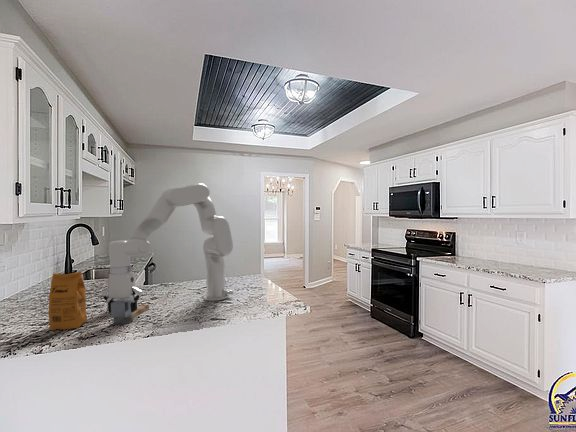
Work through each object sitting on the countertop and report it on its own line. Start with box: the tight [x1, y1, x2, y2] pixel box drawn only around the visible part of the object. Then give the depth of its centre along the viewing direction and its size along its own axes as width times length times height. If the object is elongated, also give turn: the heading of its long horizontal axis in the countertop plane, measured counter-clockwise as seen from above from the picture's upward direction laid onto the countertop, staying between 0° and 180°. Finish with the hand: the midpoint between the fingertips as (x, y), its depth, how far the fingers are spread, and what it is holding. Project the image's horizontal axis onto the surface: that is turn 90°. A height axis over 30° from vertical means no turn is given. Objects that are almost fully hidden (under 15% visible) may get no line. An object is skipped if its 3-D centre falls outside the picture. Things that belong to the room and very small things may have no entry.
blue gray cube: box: [110, 299, 134, 319], centre depth 130 cm, size 6×6×6 cm
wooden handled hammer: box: [113, 304, 150, 326], centre depth 137 cm, size 20×7×7 cm, turn 175°
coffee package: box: [48, 271, 88, 331], centre depth 128 cm, size 10×12×22 cm
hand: (122, 311), depth 131 cm, fingers open, 9 cm apart
